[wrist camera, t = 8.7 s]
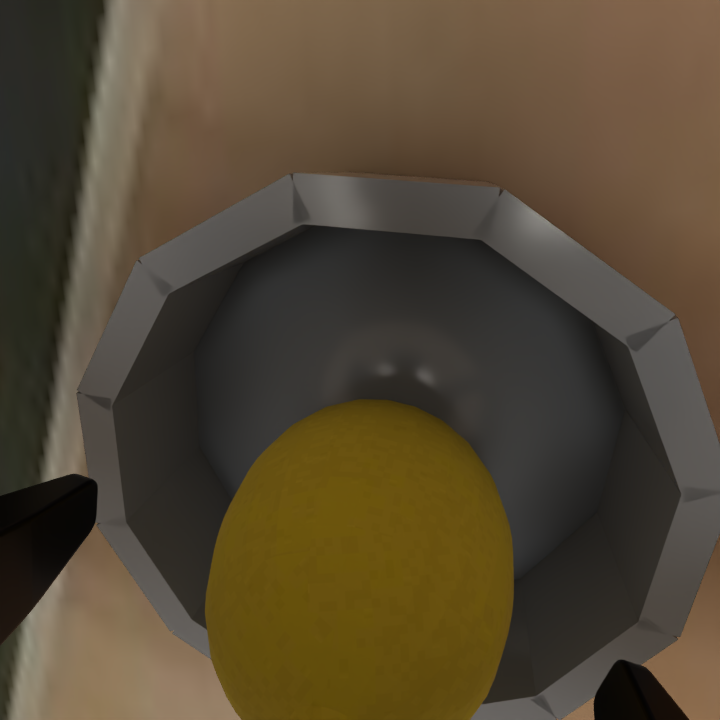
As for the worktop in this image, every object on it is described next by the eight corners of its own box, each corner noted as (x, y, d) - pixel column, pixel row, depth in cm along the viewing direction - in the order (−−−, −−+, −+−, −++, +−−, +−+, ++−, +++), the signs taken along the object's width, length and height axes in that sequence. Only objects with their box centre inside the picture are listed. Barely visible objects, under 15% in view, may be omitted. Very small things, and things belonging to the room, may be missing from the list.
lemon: (416, 565, 15) (379, 954, 8) (255, 462, 15) (53, 761, 7) (543, 430, 13) (663, 785, 5) (358, 307, 13) (222, 504, 5)
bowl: (701, 534, 14) (799, 687, 10) (308, 625, 18) (260, 761, 14) (536, 70, 11) (577, 11, 7) (111, 300, 15) (-25, 350, 11)
